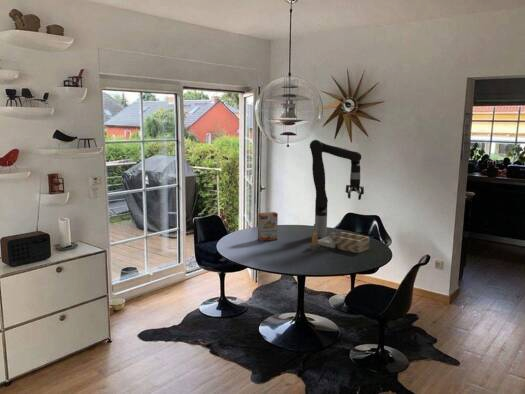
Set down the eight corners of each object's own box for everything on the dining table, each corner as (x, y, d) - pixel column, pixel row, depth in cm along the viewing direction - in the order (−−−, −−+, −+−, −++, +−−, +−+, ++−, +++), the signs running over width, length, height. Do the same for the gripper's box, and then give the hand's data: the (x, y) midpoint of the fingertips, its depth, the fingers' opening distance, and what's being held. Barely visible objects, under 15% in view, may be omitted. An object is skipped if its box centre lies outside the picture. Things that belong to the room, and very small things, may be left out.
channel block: (331, 247, 323) (331, 235, 321) (341, 243, 334) (342, 231, 333) (358, 253, 309) (359, 241, 308) (368, 248, 320) (369, 236, 319)
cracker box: (260, 241, 336) (260, 214, 332) (257, 239, 341) (257, 212, 338) (277, 240, 341) (277, 213, 337) (274, 238, 347) (274, 211, 343)
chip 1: (329, 238, 329) (329, 233, 328) (332, 237, 332) (332, 232, 331) (334, 239, 326) (334, 234, 326) (337, 238, 329) (337, 233, 329)
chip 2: (333, 244, 328) (328, 243, 330) (336, 243, 331) (331, 242, 333) (333, 239, 327) (329, 238, 330) (336, 238, 330) (331, 237, 333)
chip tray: (316, 244, 330) (316, 240, 329) (328, 240, 342) (328, 236, 342) (334, 248, 321) (334, 244, 320) (345, 243, 333) (345, 239, 332)
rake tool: (309, 248, 319) (309, 234, 318) (315, 246, 325) (315, 232, 323) (313, 249, 317) (314, 235, 315) (319, 247, 322) (320, 233, 321)
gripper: (344, 177, 345) (343, 198, 347) (361, 179, 336) (360, 200, 338) (349, 176, 350) (348, 197, 353) (366, 178, 341) (365, 199, 344)
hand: (354, 199), depth 346 cm, fingers open, 8 cm apart
